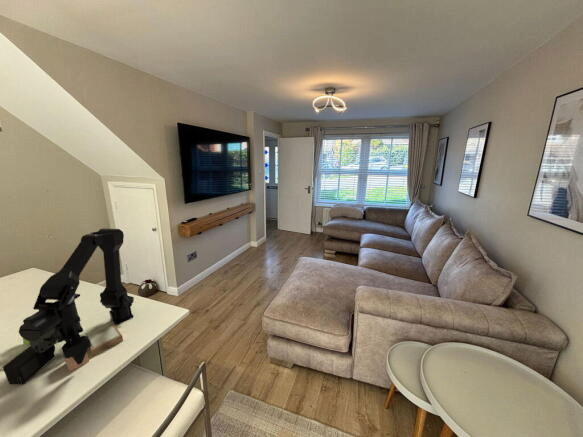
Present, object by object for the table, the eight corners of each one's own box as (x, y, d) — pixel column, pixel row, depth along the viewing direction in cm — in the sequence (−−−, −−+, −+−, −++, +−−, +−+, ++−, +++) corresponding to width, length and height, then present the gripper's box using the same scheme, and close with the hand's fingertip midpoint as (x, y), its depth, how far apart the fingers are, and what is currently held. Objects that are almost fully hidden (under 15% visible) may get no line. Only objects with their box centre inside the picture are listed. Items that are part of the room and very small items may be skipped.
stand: (114, 329, 95) (113, 324, 94) (123, 340, 90) (122, 334, 89) (86, 343, 88) (84, 337, 87) (93, 355, 83) (91, 349, 82)
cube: (85, 353, 84) (82, 342, 82) (89, 361, 81) (86, 349, 79) (66, 363, 80) (62, 351, 78) (69, 371, 77) (66, 359, 75)
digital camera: (26, 385, 72) (20, 367, 70) (8, 384, 72) (1, 366, 70) (59, 356, 82) (54, 340, 80) (43, 356, 82) (38, 339, 80)
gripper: (24, 317, 74) (37, 356, 79) (33, 347, 64) (48, 391, 68) (71, 300, 83) (80, 337, 87) (86, 324, 72) (96, 365, 77)
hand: (76, 356), depth 80 cm, fingers open, 9 cm apart
